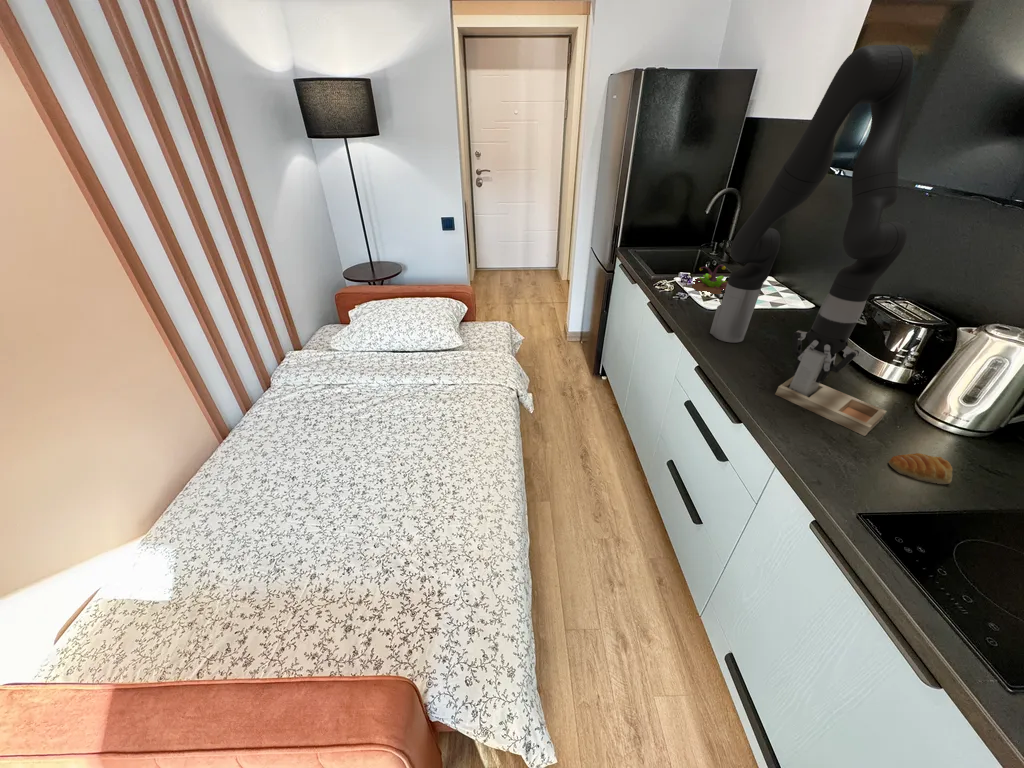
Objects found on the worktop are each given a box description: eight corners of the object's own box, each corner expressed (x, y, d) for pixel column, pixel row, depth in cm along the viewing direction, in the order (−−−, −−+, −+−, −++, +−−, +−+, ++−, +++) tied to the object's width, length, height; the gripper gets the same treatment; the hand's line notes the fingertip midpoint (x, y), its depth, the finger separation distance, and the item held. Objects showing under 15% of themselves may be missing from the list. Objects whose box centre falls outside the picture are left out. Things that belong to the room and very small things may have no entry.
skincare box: (804, 399, 104) (825, 357, 97) (786, 390, 107) (805, 349, 100) (816, 391, 107) (837, 350, 100) (798, 382, 110) (818, 342, 103)
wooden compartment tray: (775, 394, 108) (778, 386, 106) (793, 381, 113) (797, 373, 111) (864, 436, 94) (870, 427, 93) (881, 419, 99) (886, 411, 98)
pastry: (896, 479, 84) (906, 465, 82) (880, 456, 89) (888, 443, 87) (951, 487, 82) (963, 473, 80) (931, 463, 87) (941, 450, 85)
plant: (733, 306, 155) (742, 276, 148) (678, 296, 163) (685, 267, 157) (739, 288, 169) (748, 261, 163) (689, 280, 177) (695, 253, 171)
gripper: (797, 307, 98) (772, 369, 108) (868, 330, 88) (833, 396, 98) (812, 300, 101) (786, 360, 111) (881, 321, 92) (846, 385, 102)
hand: (808, 376), depth 105 cm, fingers closed on skincare box, 4 cm apart
